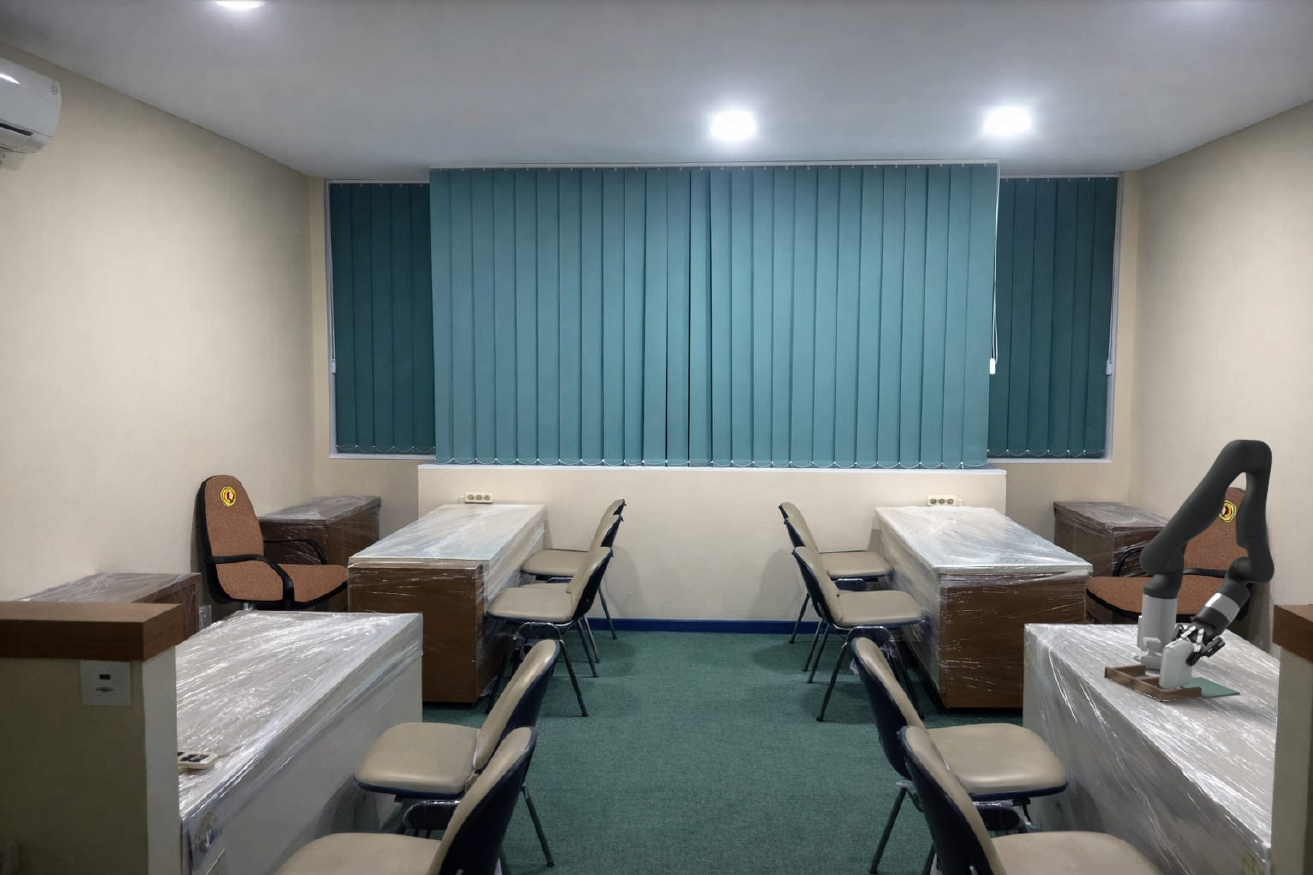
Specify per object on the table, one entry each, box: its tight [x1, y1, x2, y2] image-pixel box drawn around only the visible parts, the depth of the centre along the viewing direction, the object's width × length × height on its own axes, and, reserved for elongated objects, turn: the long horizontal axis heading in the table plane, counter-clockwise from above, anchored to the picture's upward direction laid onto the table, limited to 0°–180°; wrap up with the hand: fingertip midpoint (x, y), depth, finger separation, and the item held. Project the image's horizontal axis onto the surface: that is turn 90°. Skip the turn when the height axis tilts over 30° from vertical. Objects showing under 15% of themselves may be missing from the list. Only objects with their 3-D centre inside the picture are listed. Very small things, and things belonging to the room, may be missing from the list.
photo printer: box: [1159, 640, 1195, 690], centre depth 240 cm, size 10×4×12 cm, turn 121°
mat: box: [1179, 676, 1241, 699], centre depth 244 cm, size 12×12×1 cm
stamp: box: [1133, 637, 1162, 671], centre depth 260 cm, size 9×7×8 cm
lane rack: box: [1104, 663, 1202, 701], centre depth 244 cm, size 19×14×3 cm
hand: (1179, 660), depth 241 cm, fingers closed on photo printer, 5 cm apart
